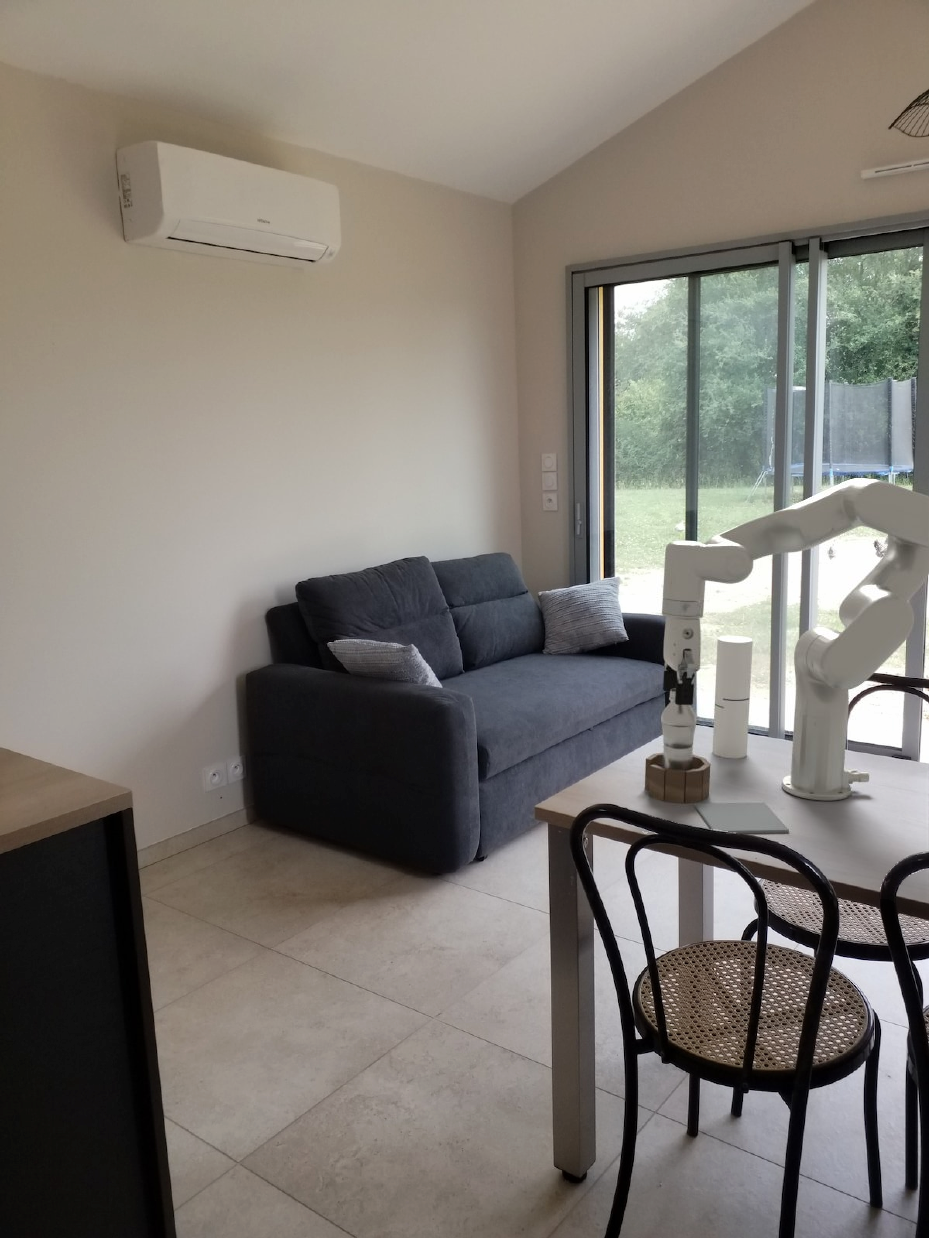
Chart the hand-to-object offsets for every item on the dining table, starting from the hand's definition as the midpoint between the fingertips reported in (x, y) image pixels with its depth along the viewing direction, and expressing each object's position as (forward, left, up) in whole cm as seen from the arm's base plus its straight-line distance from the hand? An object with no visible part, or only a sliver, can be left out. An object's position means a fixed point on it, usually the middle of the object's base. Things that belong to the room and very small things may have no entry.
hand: (677, 697), depth 189 cm
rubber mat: (-9, +14, -19) cm, 25 cm away
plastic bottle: (-1, 0, -19) cm, 19 cm away
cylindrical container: (-18, -23, -19) cm, 35 cm away
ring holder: (-1, 0, -19) cm, 19 cm away
